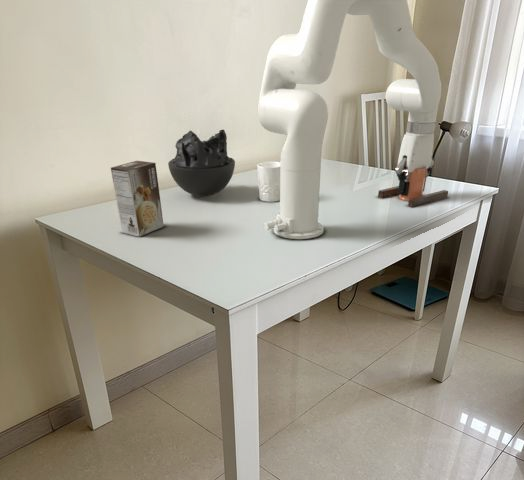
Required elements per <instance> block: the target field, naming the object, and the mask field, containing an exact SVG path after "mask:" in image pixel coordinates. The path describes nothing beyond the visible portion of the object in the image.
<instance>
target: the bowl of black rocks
mask: <svg viewBox="0 0 524 480" xmlns="http://www.w3.org/2000/svg"><path fill="white" fill-rule="evenodd" d="M227 140H228V137H227V133H226V131H225V129H219V131H218V133H215V134H214V135H211V136H210V137H209V138H208V139H207V140H200V138H199V137H198V135H197V134H196V133H195V132H194V131H192V130H189V131H187V133H185V134H183V135H182V137H181V138H179V139H178V140H177V141H176V143H175V146H174V147H175V148H176V154H175V157H174V158H172V159H170V160H169V161H168V163H167V165H168V170H169V173H170V175H171V177H172V179H173V180H174V182H175V183H176V184H177V186H178V187H179V188H180V189H182V191H184V192H186V193H188V194H190V195H193V196H197V197H210V196H212V195H215V194H218V193H219V192H221V191H222V190H224V189H225V188H226V187H227V185H228V184H229V183H230V181H231V179H232V177H233V175H234V172H235V167H236V161H235V159H234V158H233V157H229V156H228V146H227V145H228V141H227Z"/></svg>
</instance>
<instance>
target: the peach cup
mask: <svg viewBox="0 0 524 480" xmlns="http://www.w3.org/2000/svg"><path fill="white" fill-rule="evenodd" d="M426 169H427V167H425V168H423V169H415V170H414V171H413V172H411V175H410V177H409V180H408V182H409V189H408V195H407V196H403V195H400V194H398V198H399V199H400V200H402V201H407V202H409V199H411V198H415V197H419V196H423V195H424V191H423V189H424V182H425V176H426ZM404 170H408V168H404ZM406 174H407V173H406V172H404V175H405V176H406ZM424 190H425V189H424Z"/></svg>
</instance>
